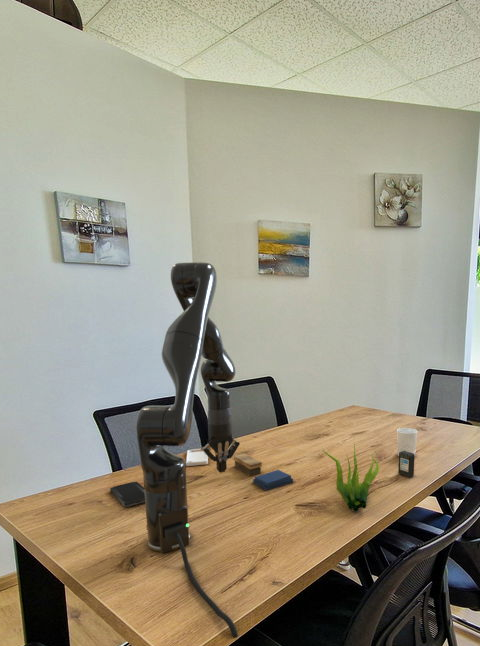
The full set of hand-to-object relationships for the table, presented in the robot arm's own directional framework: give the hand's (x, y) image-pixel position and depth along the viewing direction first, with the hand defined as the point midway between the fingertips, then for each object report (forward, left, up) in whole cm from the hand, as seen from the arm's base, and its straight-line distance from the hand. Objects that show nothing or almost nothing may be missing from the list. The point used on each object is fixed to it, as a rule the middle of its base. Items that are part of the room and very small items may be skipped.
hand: (221, 471), depth 143 cm
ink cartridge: (-38, -49, -2) cm, 62 cm away
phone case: (+22, -1, -2) cm, 22 cm away
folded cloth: (-15, -11, -2) cm, 18 cm away
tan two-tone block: (0, -10, -2) cm, 10 cm away
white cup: (-25, -64, -2) cm, 68 cm away
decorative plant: (-35, -25, -2) cm, 43 cm away
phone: (+3, +27, -2) cm, 28 cm away
